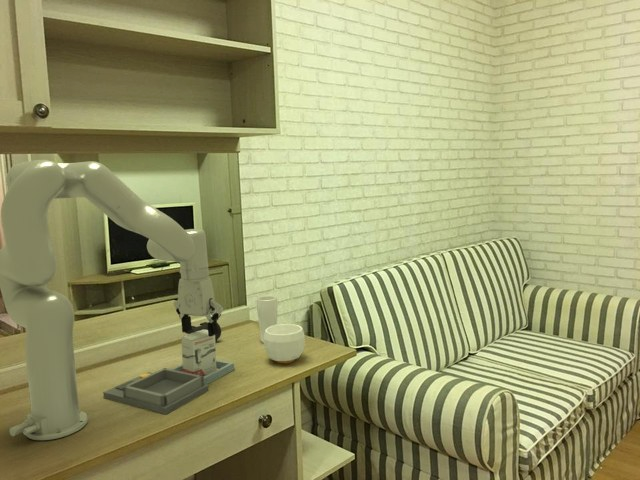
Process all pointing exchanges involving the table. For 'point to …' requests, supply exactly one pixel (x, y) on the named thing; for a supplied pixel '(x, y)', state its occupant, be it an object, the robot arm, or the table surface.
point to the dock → (159, 390)
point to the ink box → (199, 353)
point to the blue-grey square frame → (224, 369)
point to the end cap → (204, 327)
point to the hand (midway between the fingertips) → (199, 333)
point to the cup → (284, 342)
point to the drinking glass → (266, 313)
